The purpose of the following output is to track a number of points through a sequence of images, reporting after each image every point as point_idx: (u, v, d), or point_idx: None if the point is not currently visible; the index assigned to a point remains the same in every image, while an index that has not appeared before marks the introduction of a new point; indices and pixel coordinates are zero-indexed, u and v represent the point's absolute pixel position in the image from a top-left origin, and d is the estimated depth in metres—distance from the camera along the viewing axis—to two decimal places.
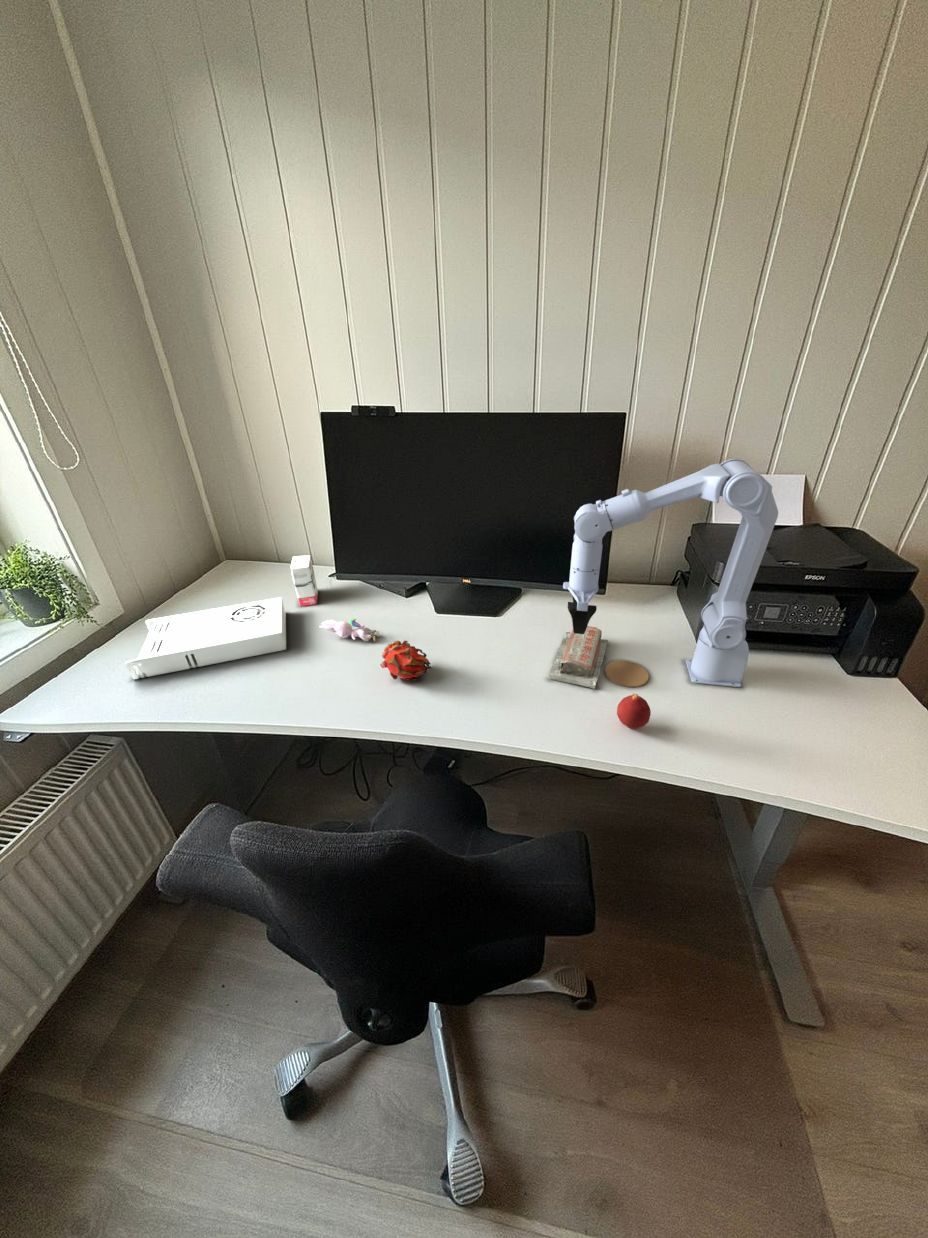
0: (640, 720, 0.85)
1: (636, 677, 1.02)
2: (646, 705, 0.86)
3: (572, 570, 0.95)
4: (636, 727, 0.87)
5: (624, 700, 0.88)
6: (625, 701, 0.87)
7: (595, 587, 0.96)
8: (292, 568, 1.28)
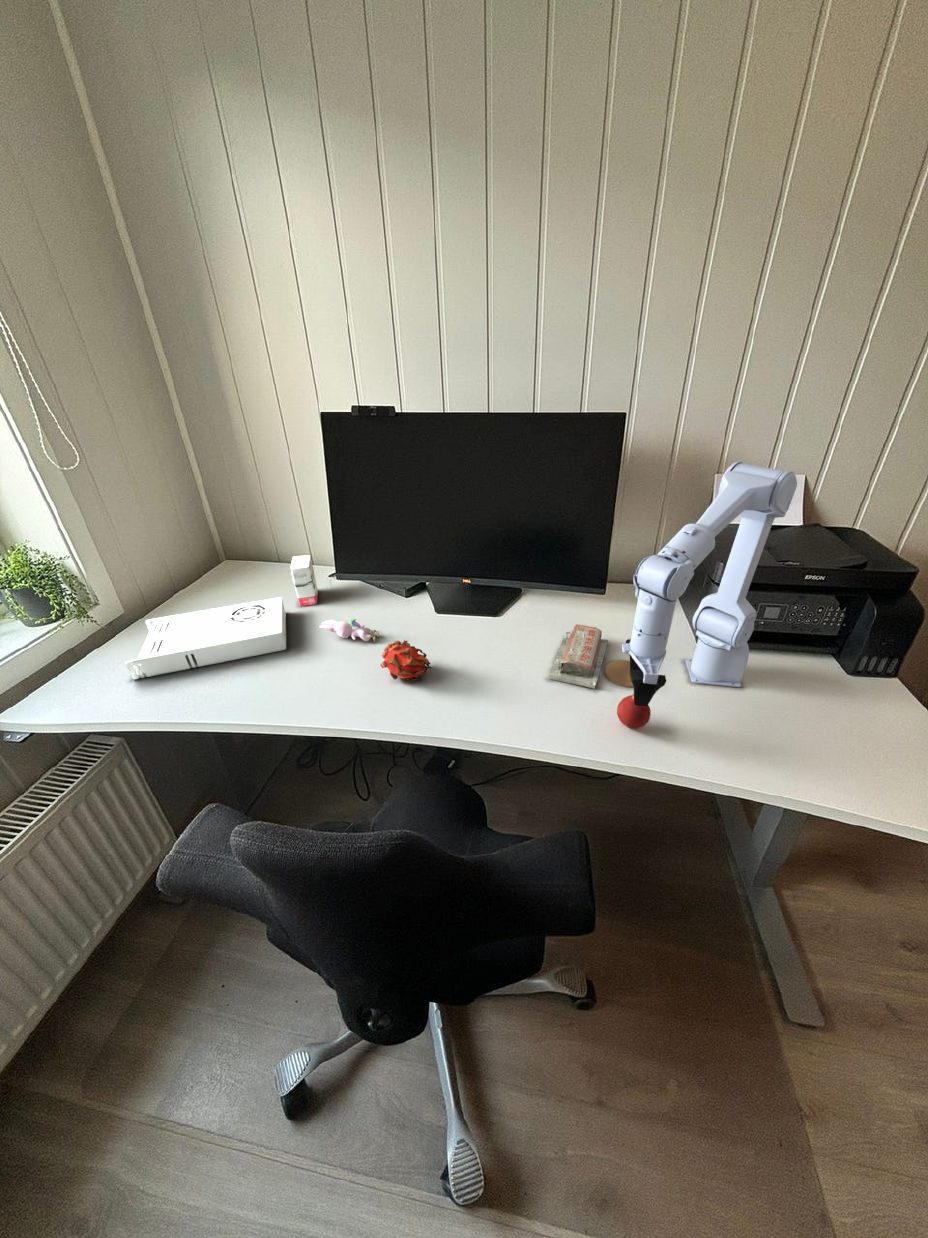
0: (640, 720, 0.85)
1: None
2: None
3: (636, 632, 0.79)
4: (636, 727, 0.87)
5: (624, 700, 0.88)
6: (625, 701, 0.87)
7: (663, 652, 0.79)
8: (292, 568, 1.28)
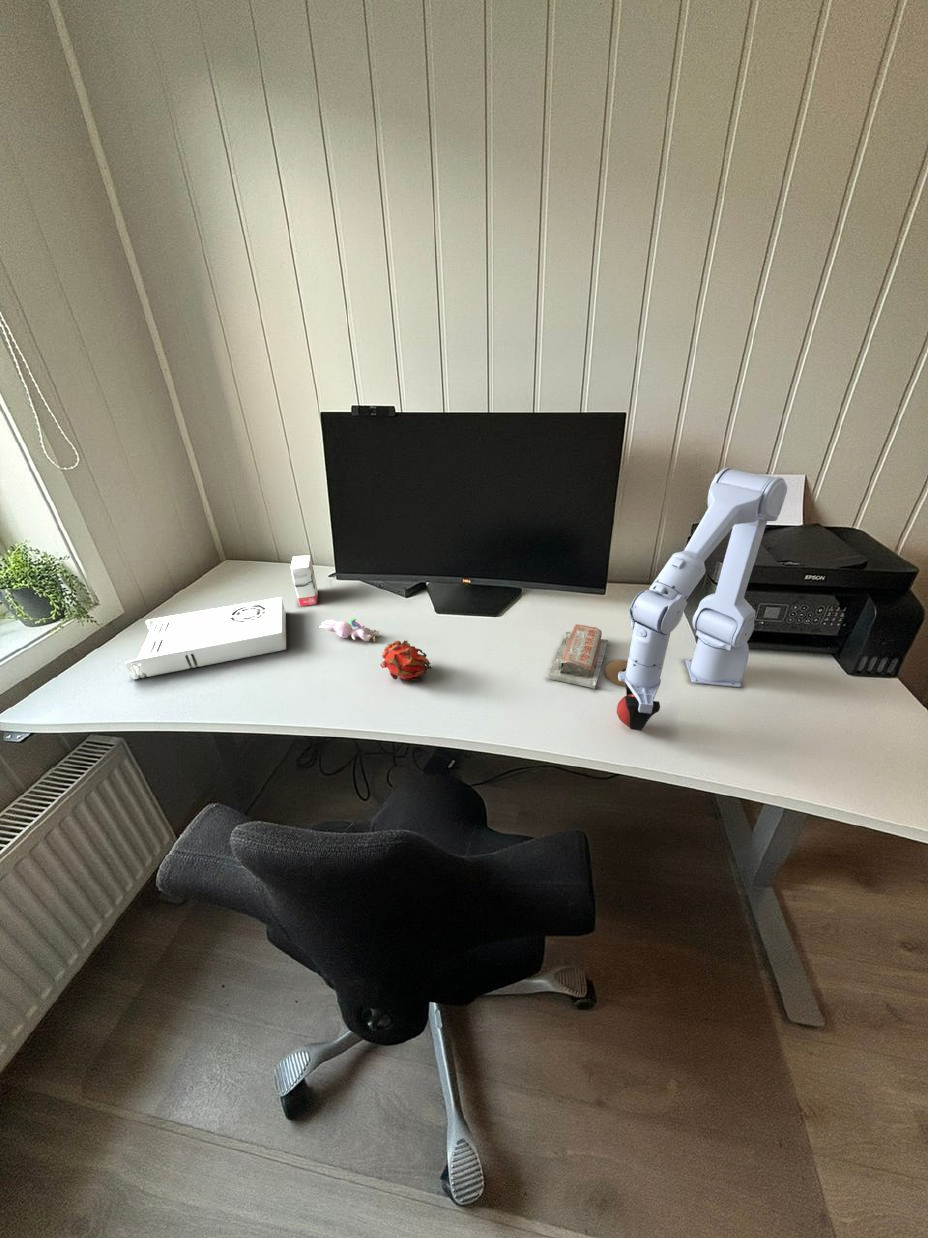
0: None
1: None
2: None
3: (631, 662, 0.82)
4: None
5: (624, 699, 0.88)
6: None
7: (658, 681, 0.82)
8: (292, 568, 1.28)
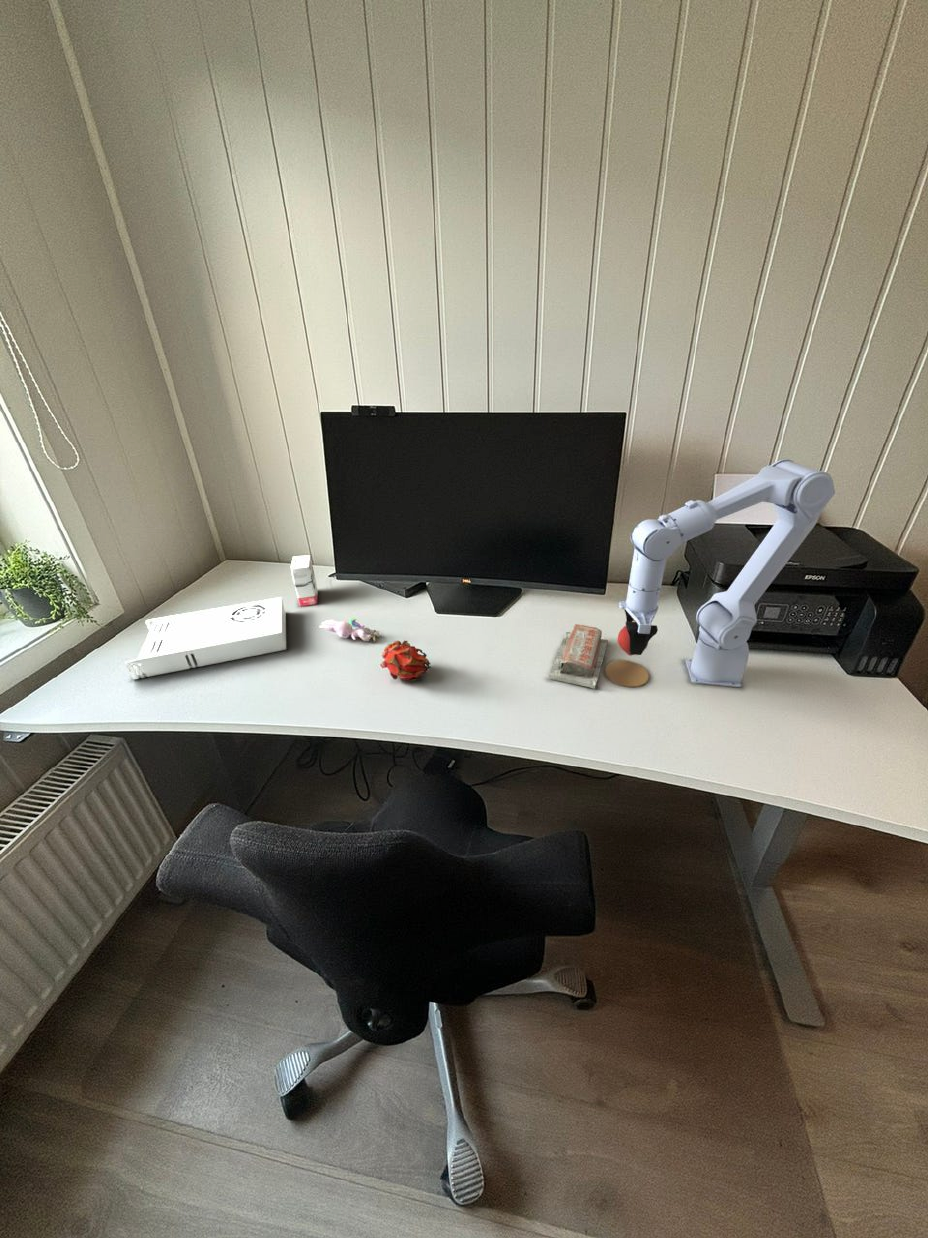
0: None
1: (636, 677, 1.02)
2: None
3: (631, 589, 0.89)
4: None
5: (624, 627, 0.96)
6: (625, 628, 0.95)
7: (655, 607, 0.90)
8: (292, 568, 1.28)
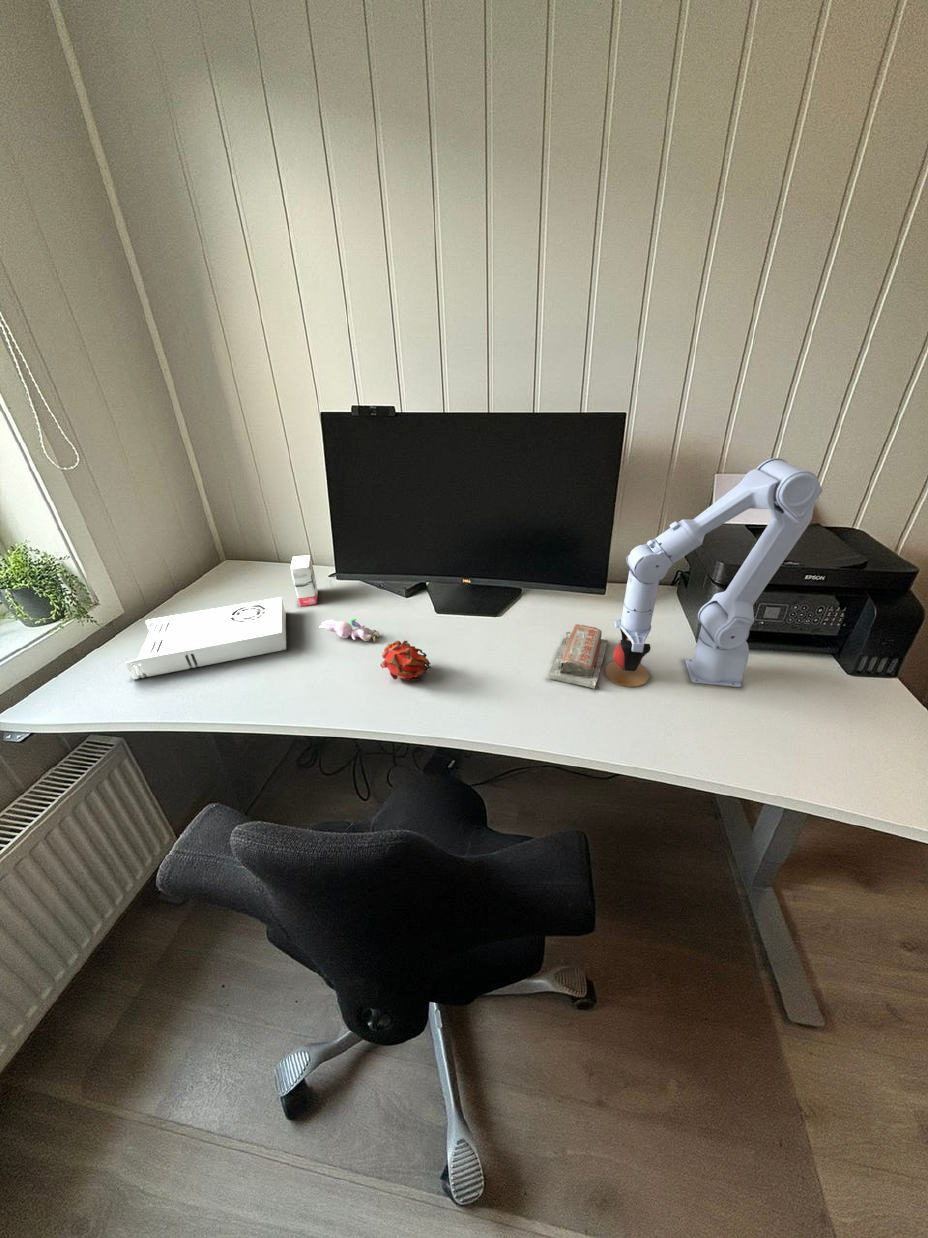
0: None
1: (636, 677, 1.02)
2: None
3: (626, 610, 0.94)
4: None
5: (619, 645, 1.01)
6: (620, 645, 1.00)
7: (648, 627, 0.95)
8: (292, 568, 1.28)
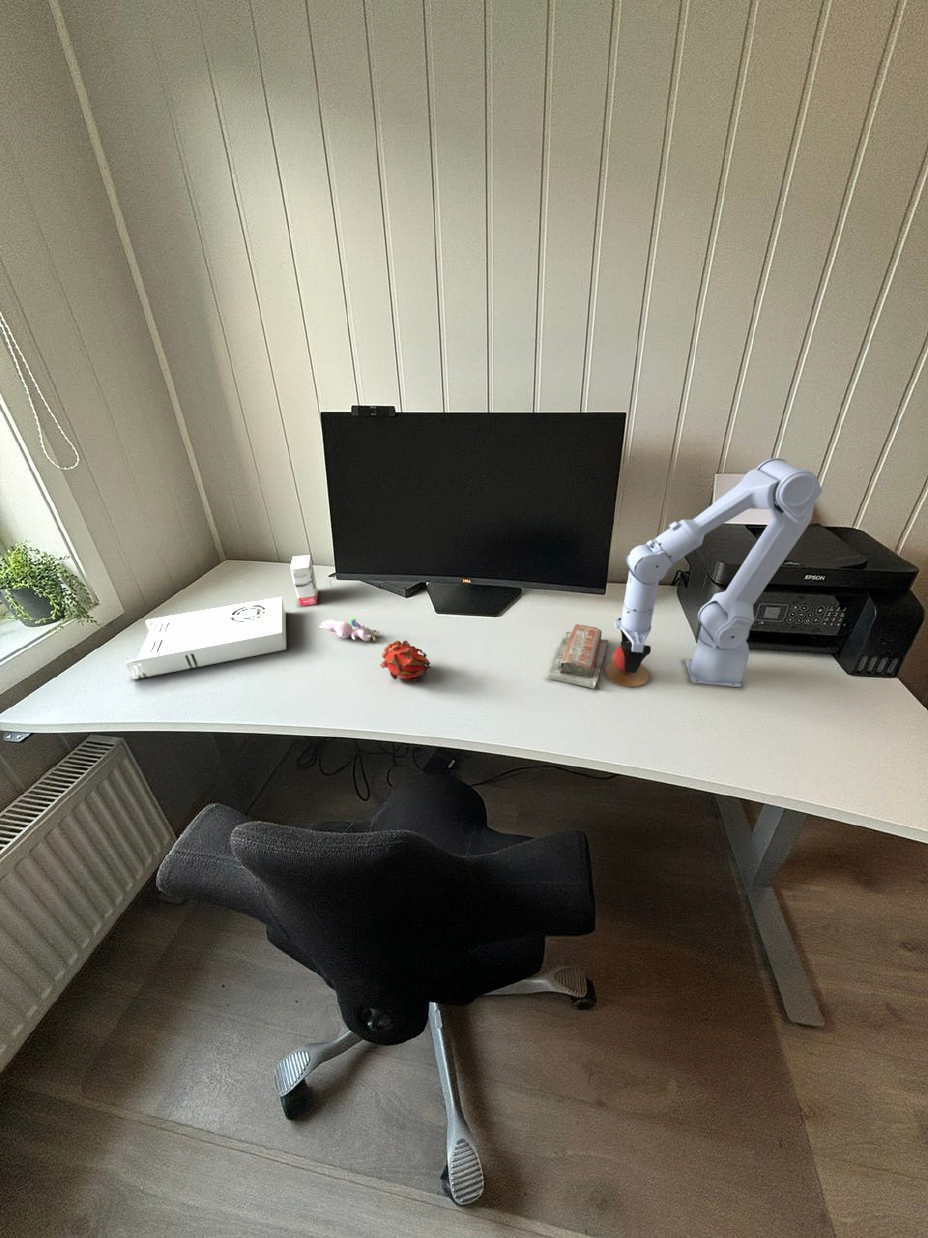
0: None
1: (636, 677, 1.02)
2: None
3: (626, 610, 0.94)
4: None
5: (619, 648, 1.01)
6: (619, 648, 1.00)
7: (648, 627, 0.95)
8: (292, 568, 1.28)
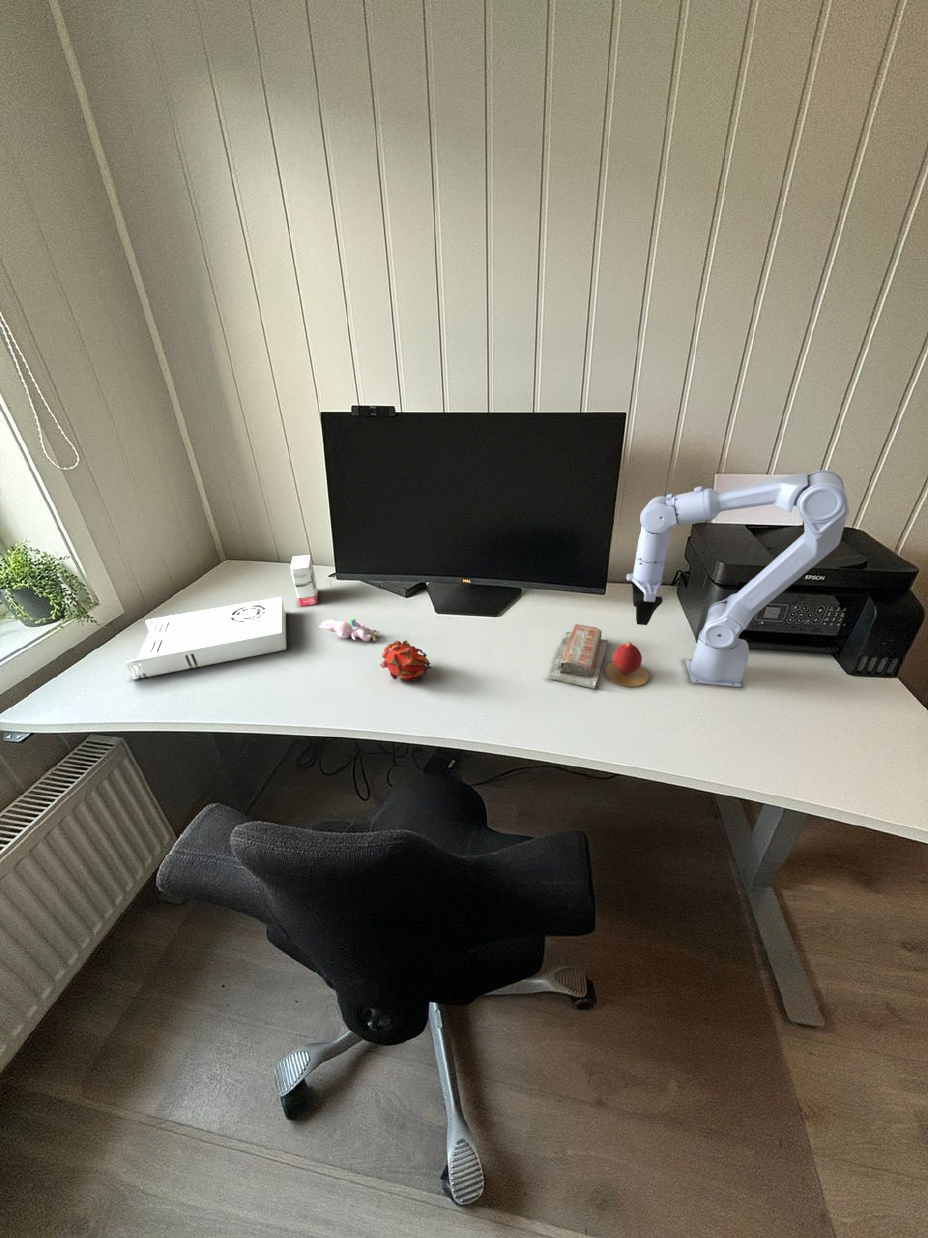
0: (633, 664, 0.99)
1: (636, 677, 1.02)
2: (638, 651, 0.99)
3: (638, 562, 0.97)
4: (629, 671, 1.00)
5: (619, 648, 1.01)
6: (619, 648, 1.00)
7: (660, 578, 0.98)
8: (292, 568, 1.28)
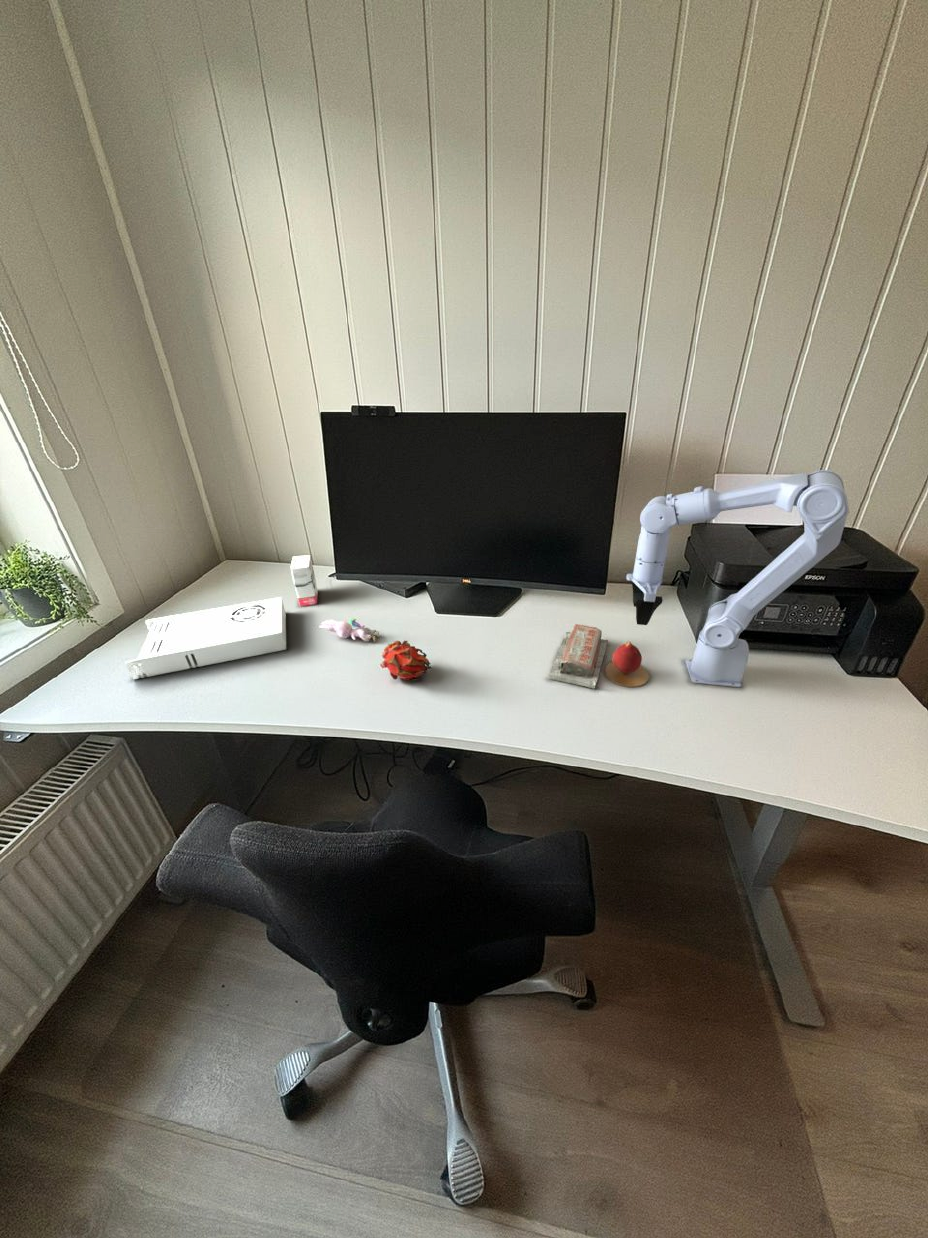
0: (633, 664, 0.99)
1: (636, 677, 1.02)
2: (638, 651, 0.99)
3: (638, 562, 0.97)
4: (629, 671, 1.00)
5: (619, 648, 1.01)
6: (619, 648, 1.00)
7: (660, 578, 0.98)
8: (292, 568, 1.28)
